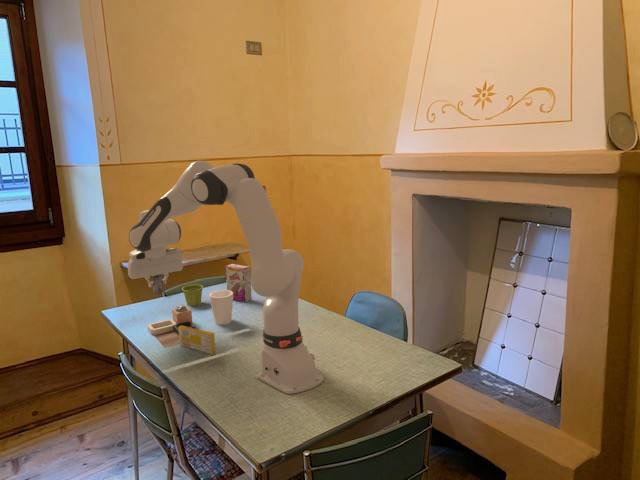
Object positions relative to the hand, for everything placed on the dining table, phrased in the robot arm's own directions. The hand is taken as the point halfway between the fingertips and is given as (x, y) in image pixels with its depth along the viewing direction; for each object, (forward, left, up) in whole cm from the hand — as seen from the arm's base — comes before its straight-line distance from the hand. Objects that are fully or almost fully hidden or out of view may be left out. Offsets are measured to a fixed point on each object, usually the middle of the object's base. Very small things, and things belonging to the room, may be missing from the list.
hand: (157, 285), depth 183 cm
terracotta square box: (0, -8, -19) cm, 21 cm away
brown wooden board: (-7, -4, -19) cm, 21 cm away
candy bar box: (+15, -41, -20) cm, 47 cm away
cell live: (0, 0, -3) cm, 3 cm away
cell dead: (0, -8, -18) cm, 20 cm away
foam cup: (-8, -23, -20) cm, 31 cm away
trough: (0, 0, -19) cm, 19 cm away
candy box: (-25, -5, -20) cm, 32 cm away
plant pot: (+21, -21, -20) cm, 35 cm away
